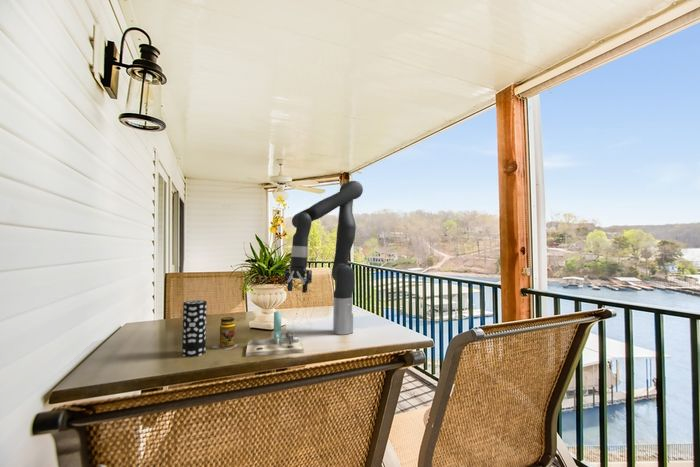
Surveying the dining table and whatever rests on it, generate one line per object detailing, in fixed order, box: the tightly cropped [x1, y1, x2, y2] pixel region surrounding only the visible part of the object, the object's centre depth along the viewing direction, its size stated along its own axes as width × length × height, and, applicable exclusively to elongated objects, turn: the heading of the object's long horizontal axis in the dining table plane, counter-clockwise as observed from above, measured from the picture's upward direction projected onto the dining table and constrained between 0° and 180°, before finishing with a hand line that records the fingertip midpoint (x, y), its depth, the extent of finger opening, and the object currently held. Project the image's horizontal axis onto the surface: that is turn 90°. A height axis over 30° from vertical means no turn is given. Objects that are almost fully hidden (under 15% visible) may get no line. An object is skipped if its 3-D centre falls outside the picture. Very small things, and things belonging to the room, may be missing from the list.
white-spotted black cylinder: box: [181, 299, 208, 358], centre depth 133 cm, size 8×8×20 cm
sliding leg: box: [273, 311, 282, 345], centre depth 140 cm, size 3×9×12 cm, turn 14°
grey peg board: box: [245, 329, 305, 357], centre depth 139 cm, size 22×14×6 cm, turn 104°
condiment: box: [211, 316, 239, 351], centre depth 142 cm, size 7×8×12 cm
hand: (296, 291), depth 154 cm, fingers open, 8 cm apart
